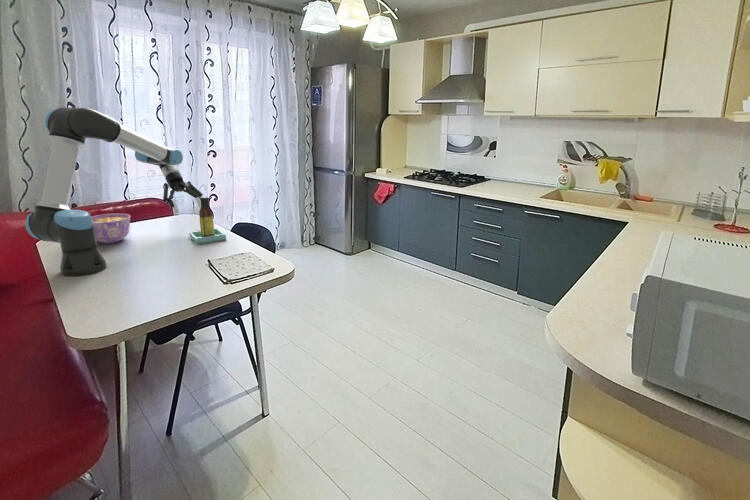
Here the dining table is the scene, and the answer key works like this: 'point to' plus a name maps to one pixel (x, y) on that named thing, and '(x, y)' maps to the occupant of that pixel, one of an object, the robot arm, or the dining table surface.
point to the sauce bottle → (206, 218)
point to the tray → (199, 239)
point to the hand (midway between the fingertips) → (190, 210)
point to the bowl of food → (111, 227)
